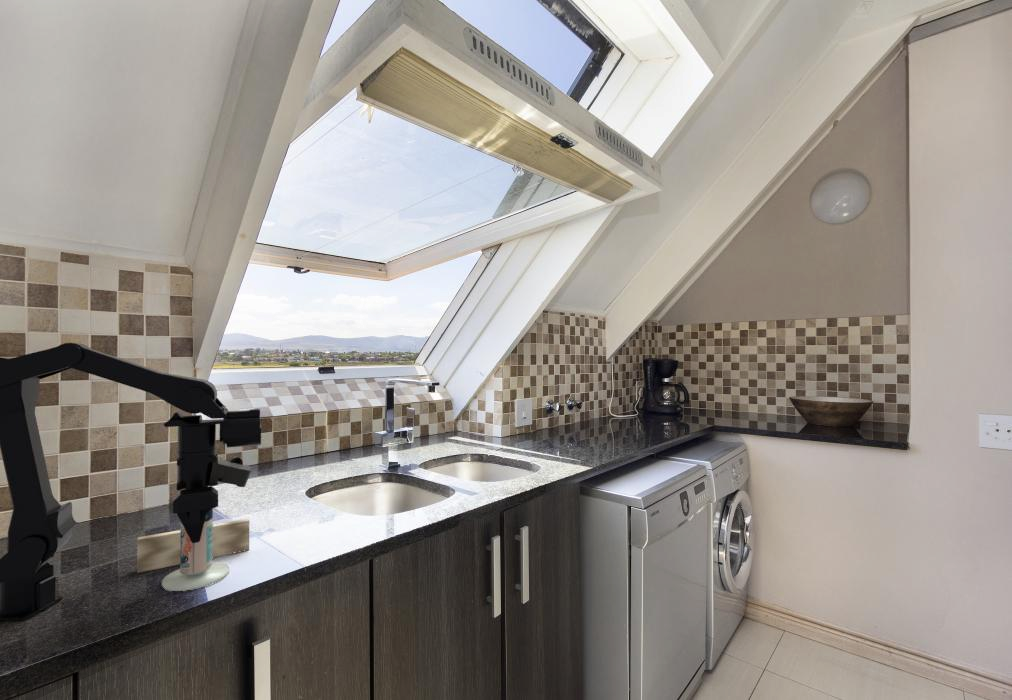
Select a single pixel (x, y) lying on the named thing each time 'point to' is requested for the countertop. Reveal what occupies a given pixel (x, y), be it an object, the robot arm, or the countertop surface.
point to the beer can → (197, 549)
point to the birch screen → (167, 545)
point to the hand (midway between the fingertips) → (196, 537)
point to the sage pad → (195, 578)
